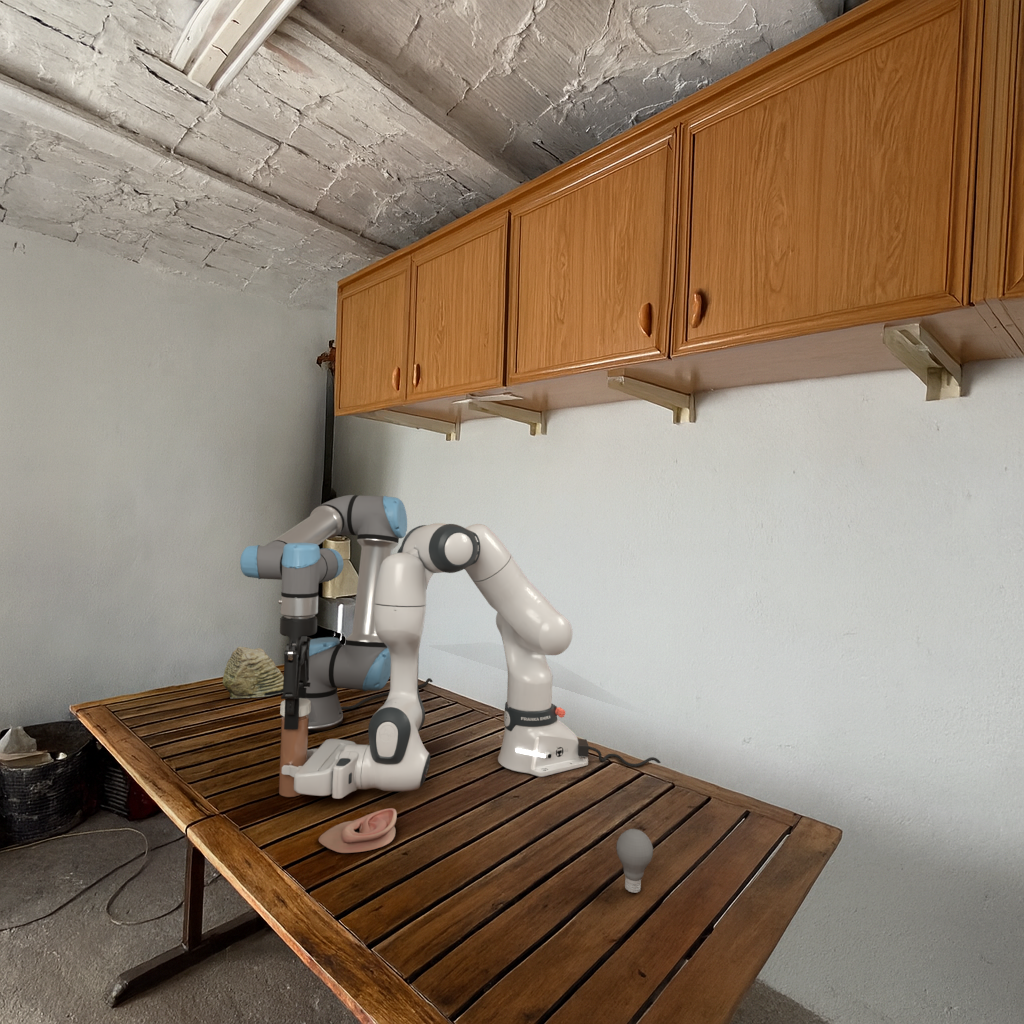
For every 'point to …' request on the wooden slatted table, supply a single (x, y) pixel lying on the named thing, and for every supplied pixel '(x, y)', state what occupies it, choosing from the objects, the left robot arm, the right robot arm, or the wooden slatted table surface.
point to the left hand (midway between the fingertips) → (294, 722)
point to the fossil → (252, 674)
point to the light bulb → (634, 857)
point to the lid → (303, 707)
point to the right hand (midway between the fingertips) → (289, 762)
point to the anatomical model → (362, 833)
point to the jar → (292, 753)
